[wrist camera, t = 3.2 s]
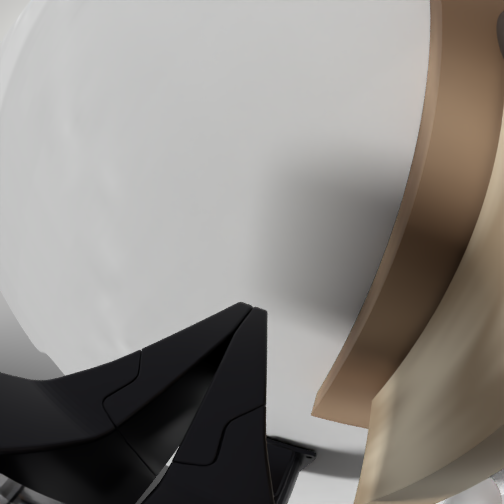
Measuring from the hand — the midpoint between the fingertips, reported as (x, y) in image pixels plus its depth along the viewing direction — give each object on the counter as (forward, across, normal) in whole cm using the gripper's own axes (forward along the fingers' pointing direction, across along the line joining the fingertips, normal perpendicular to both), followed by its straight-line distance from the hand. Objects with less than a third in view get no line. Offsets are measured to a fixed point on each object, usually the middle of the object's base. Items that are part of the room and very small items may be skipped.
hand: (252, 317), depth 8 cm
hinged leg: (+1, -7, -4) cm, 8 cm away
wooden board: (+3, -14, -4) cm, 15 cm away
